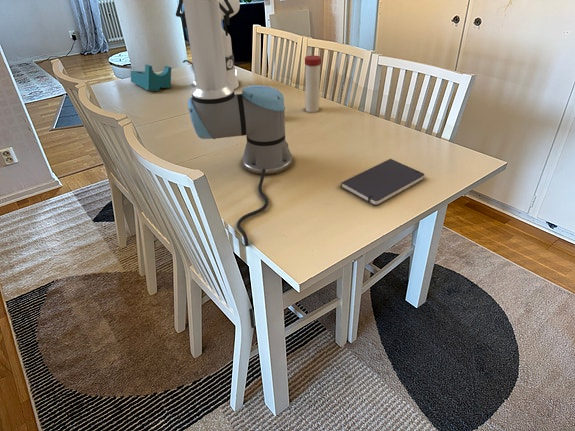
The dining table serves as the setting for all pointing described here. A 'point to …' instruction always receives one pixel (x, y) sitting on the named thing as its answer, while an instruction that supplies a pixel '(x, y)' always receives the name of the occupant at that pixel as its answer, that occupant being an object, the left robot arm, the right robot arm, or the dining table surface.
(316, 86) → the jar
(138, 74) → the teal notched cradle block
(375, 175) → the notebook
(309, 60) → the lid
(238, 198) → the dining table surface
